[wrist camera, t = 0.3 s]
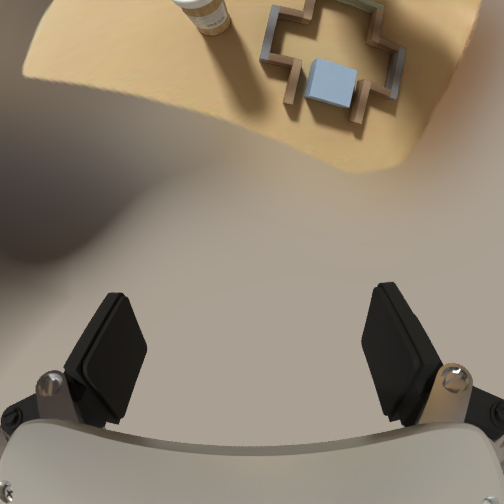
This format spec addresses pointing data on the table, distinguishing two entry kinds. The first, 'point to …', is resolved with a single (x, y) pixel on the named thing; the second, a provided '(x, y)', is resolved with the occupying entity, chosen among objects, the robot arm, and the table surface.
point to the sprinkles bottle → (206, 15)
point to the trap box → (373, 39)
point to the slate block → (330, 83)
